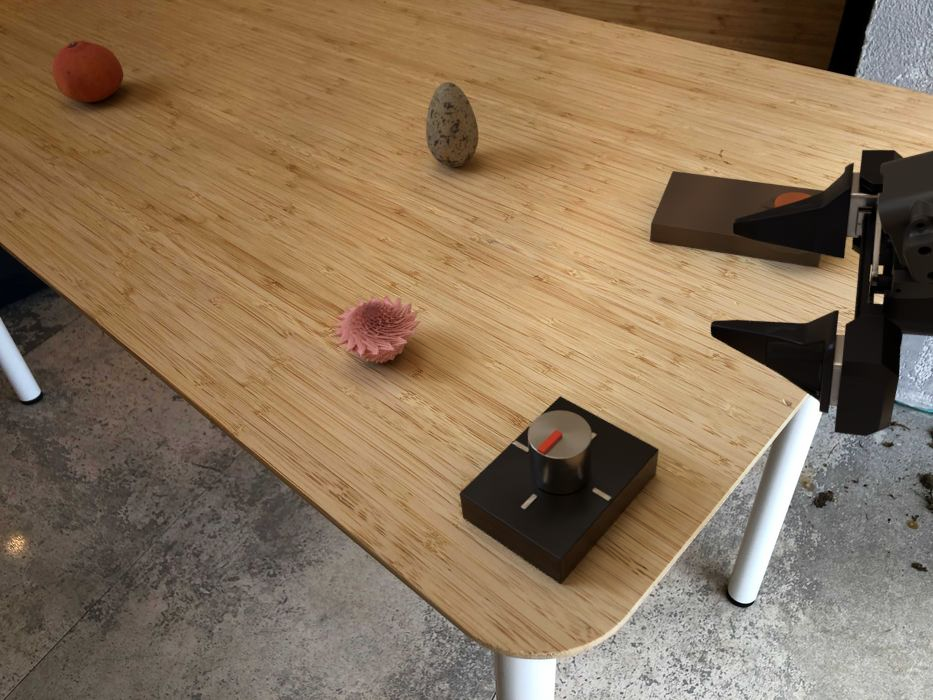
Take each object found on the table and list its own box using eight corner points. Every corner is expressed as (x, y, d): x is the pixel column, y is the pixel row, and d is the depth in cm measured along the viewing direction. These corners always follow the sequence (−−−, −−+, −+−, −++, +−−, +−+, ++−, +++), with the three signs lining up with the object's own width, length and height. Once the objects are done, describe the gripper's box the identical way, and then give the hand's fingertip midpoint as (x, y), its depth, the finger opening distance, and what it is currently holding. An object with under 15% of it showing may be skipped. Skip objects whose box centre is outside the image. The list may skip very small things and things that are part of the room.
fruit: (52, 110, 119) (27, 55, 114) (92, 81, 125) (71, 27, 120) (102, 116, 116) (79, 60, 111) (141, 86, 122) (121, 32, 117)
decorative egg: (454, 145, 102) (445, 66, 96) (491, 160, 99) (485, 79, 92) (419, 167, 99) (408, 87, 93) (456, 182, 96) (447, 101, 89)
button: (818, 211, 81) (822, 195, 79) (814, 234, 78) (818, 219, 77) (774, 205, 82) (777, 189, 81) (769, 228, 79) (772, 212, 78)
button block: (832, 210, 86) (841, 176, 84) (821, 277, 79) (830, 242, 76) (671, 188, 92) (674, 155, 89) (646, 249, 84) (648, 215, 82)
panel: (560, 421, 69) (560, 394, 67) (656, 474, 64) (659, 447, 62) (462, 517, 63) (458, 491, 61) (560, 584, 58) (560, 559, 56)
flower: (403, 393, 73) (393, 345, 69) (321, 375, 75) (307, 328, 71) (438, 333, 78) (431, 286, 74) (360, 318, 80) (350, 271, 77)
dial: (554, 437, 64) (553, 398, 61) (603, 465, 61) (604, 426, 58) (517, 474, 61) (514, 435, 58) (566, 505, 59) (566, 466, 56)
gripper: (1033, 70, 47) (741, 79, 53) (1058, 314, 37) (689, 290, 43) (993, 222, 55) (743, 215, 61) (1004, 459, 45) (700, 421, 51)
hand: (722, 275), depth 54 cm, fingers open, 9 cm apart
